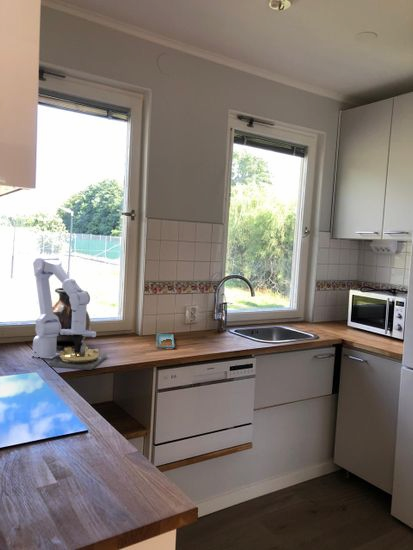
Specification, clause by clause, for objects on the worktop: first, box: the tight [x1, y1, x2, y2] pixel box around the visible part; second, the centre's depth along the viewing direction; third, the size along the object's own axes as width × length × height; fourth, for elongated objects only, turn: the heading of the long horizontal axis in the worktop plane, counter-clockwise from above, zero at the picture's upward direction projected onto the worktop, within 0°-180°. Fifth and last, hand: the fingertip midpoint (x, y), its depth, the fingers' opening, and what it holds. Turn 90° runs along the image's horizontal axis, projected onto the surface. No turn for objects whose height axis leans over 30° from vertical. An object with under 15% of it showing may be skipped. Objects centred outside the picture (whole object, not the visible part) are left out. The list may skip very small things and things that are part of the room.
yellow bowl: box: [59, 342, 100, 363], centre depth 192 cm, size 16×16×7 cm
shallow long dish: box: [156, 333, 175, 349], centre depth 235 cm, size 26×9×2 cm, turn 6°
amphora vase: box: [44, 287, 91, 351], centre depth 215 cm, size 22×22×28 cm
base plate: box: [48, 352, 108, 371], centre depth 192 cm, size 18×20×2 cm
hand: (77, 352), depth 187 cm, fingers closed, pressing on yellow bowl
